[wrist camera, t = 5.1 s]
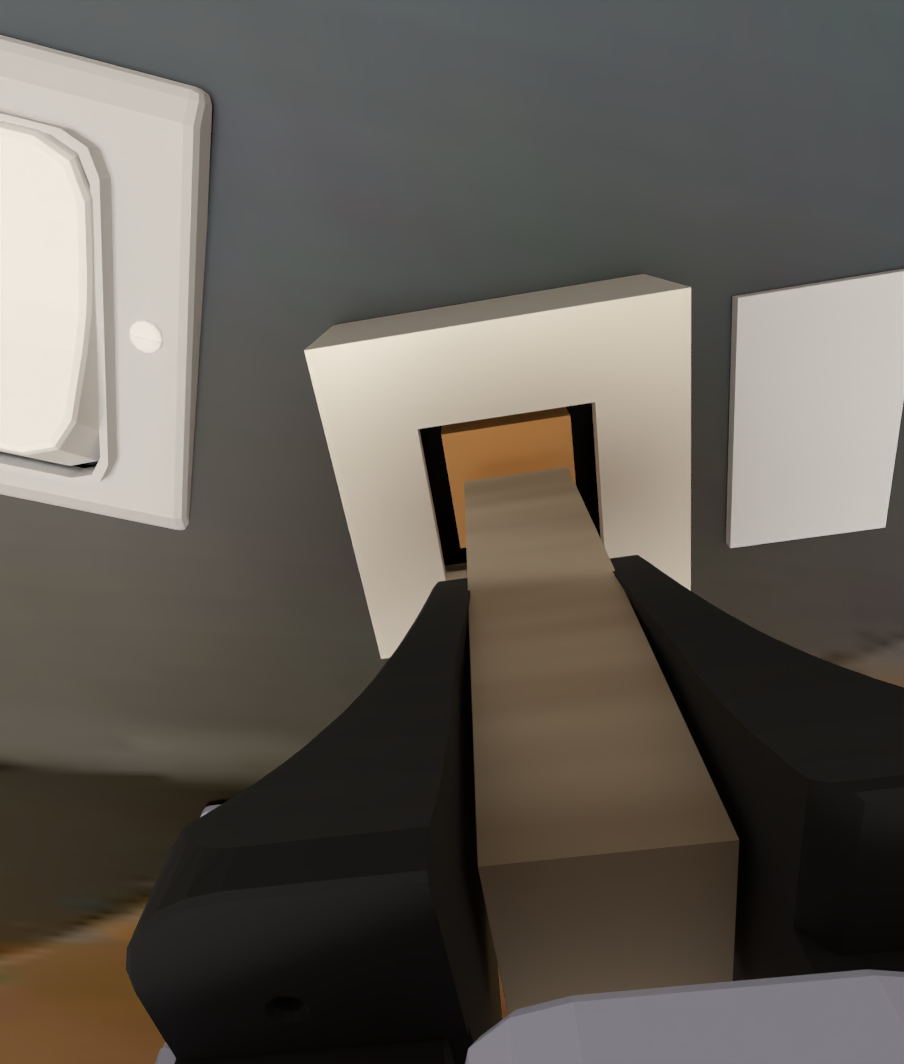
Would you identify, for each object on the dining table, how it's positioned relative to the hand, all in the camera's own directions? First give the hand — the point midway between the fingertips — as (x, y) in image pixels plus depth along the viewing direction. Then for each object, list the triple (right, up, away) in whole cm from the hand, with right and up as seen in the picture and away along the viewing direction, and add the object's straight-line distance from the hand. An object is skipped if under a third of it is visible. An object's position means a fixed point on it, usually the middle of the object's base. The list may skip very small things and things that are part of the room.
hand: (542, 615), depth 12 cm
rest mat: (+9, +5, +8) cm, 14 cm away
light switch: (-14, +9, +8) cm, 18 cm away
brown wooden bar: (0, +2, +4) cm, 4 cm away
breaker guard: (0, +4, +9) cm, 10 cm away
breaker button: (0, +4, +7) cm, 8 cm away
